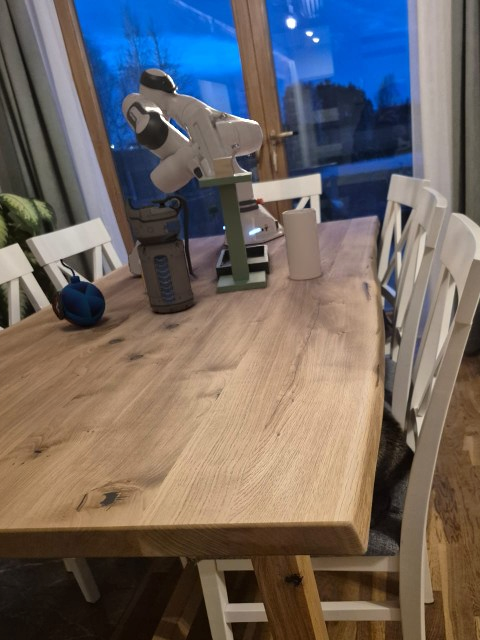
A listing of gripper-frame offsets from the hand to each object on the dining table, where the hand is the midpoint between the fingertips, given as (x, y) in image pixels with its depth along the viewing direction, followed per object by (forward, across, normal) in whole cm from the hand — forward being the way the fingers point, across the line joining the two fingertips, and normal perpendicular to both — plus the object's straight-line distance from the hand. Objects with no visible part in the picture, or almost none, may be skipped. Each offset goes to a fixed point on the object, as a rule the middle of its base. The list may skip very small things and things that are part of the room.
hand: (232, 130), depth 160 cm
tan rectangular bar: (+3, +18, +19) cm, 27 cm away
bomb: (-27, +43, +51) cm, 72 cm away
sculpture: (-42, +23, +3) cm, 47 cm away
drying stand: (-5, +44, +18) cm, 47 cm away
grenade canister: (-13, +46, +37) cm, 60 cm away
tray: (-13, +35, 0) cm, 37 cm away
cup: (+8, +48, +9) cm, 49 cm away
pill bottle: (-26, +36, +25) cm, 51 cm away
